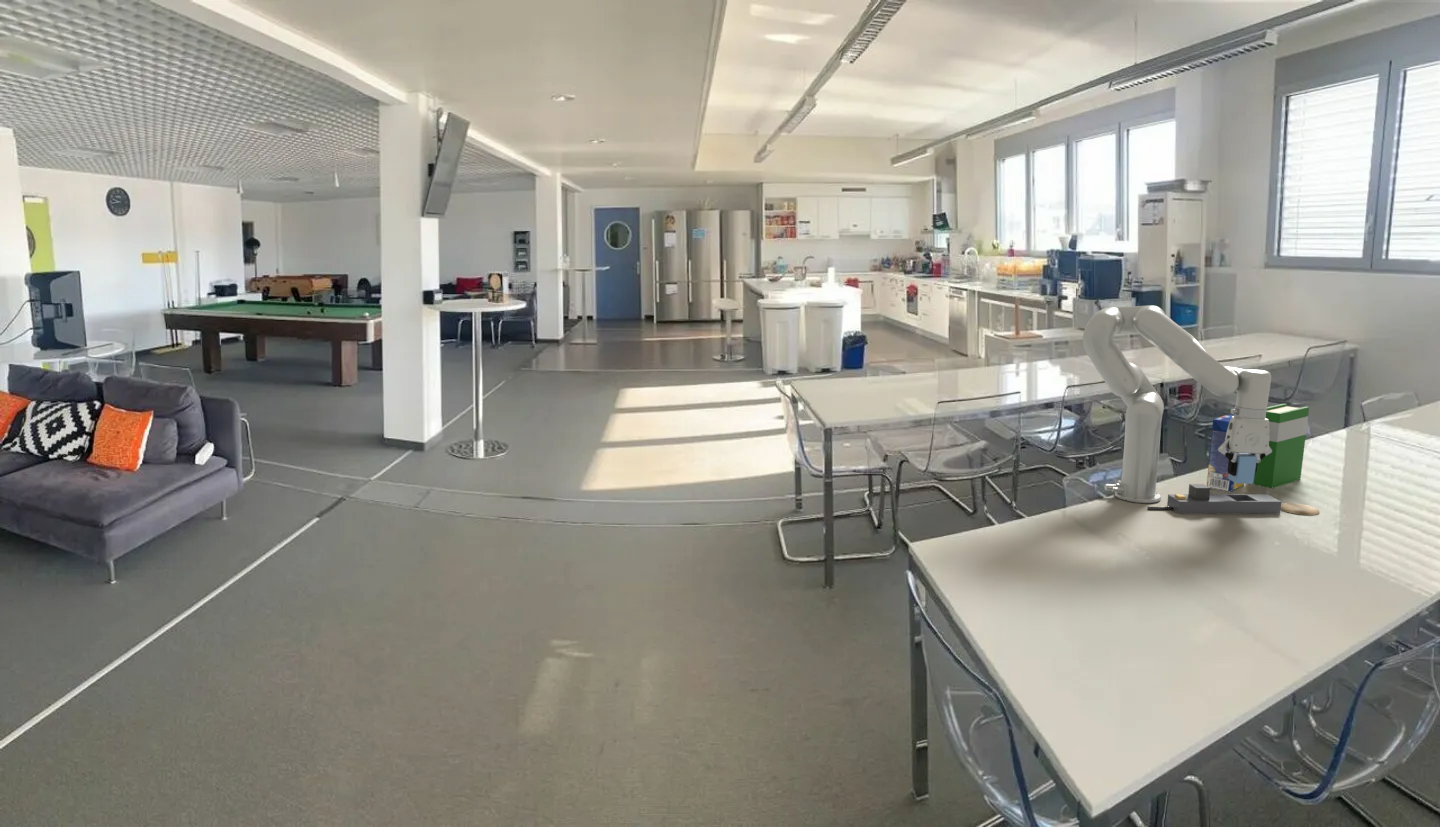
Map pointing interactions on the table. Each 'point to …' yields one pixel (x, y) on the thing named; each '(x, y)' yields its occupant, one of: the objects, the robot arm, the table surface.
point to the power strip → (1220, 502)
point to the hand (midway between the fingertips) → (1241, 474)
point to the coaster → (1299, 509)
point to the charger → (1244, 469)
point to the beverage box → (1219, 457)
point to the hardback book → (1283, 446)
